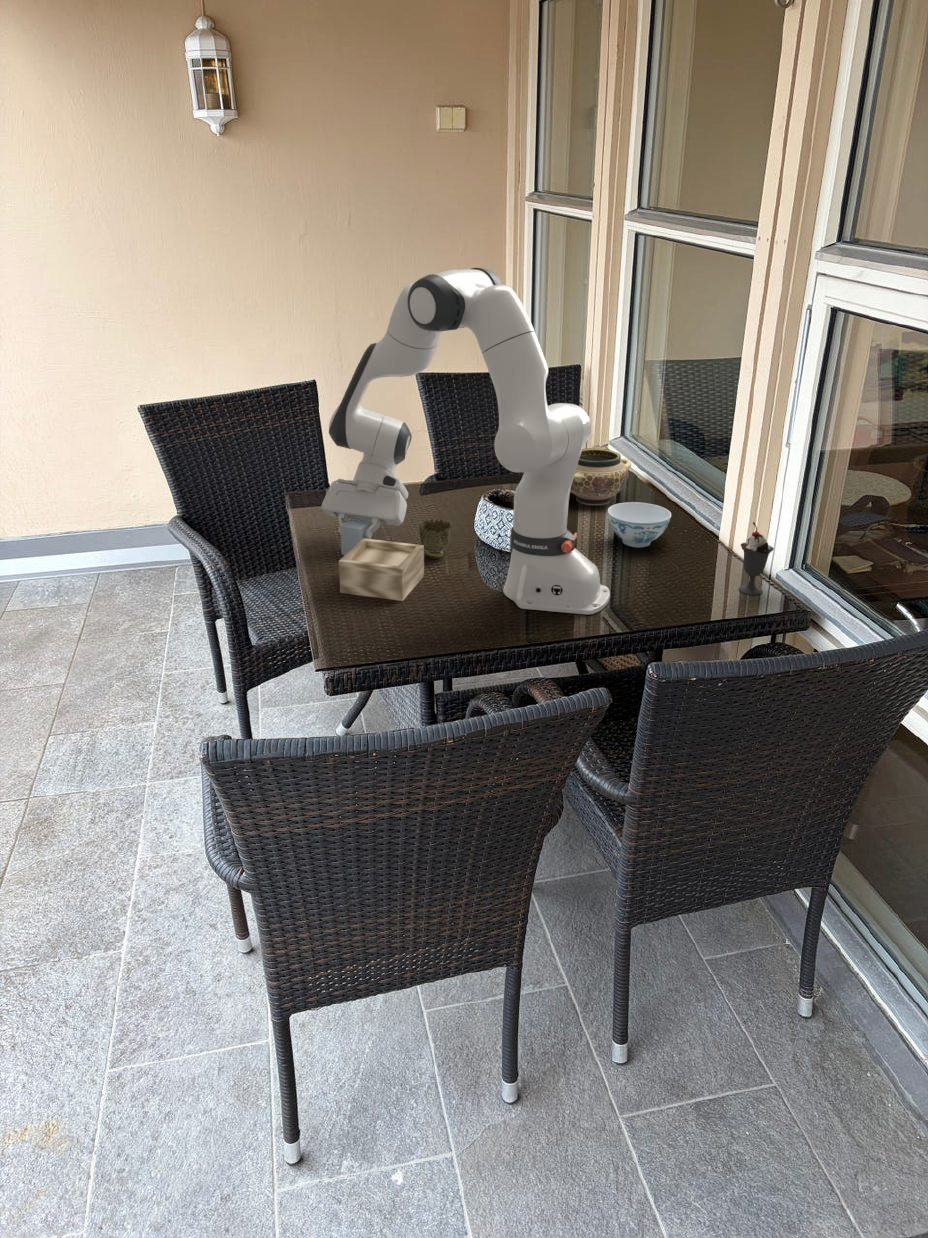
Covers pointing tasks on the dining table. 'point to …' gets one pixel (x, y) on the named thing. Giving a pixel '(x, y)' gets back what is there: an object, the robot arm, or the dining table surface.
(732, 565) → the dining table surface
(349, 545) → the slate block
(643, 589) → the dining table surface
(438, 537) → the cup
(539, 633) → the dining table surface
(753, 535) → the sundae
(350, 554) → the maple box
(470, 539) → the dining table surface
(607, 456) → the ceramic bowl
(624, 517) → the chinaware
